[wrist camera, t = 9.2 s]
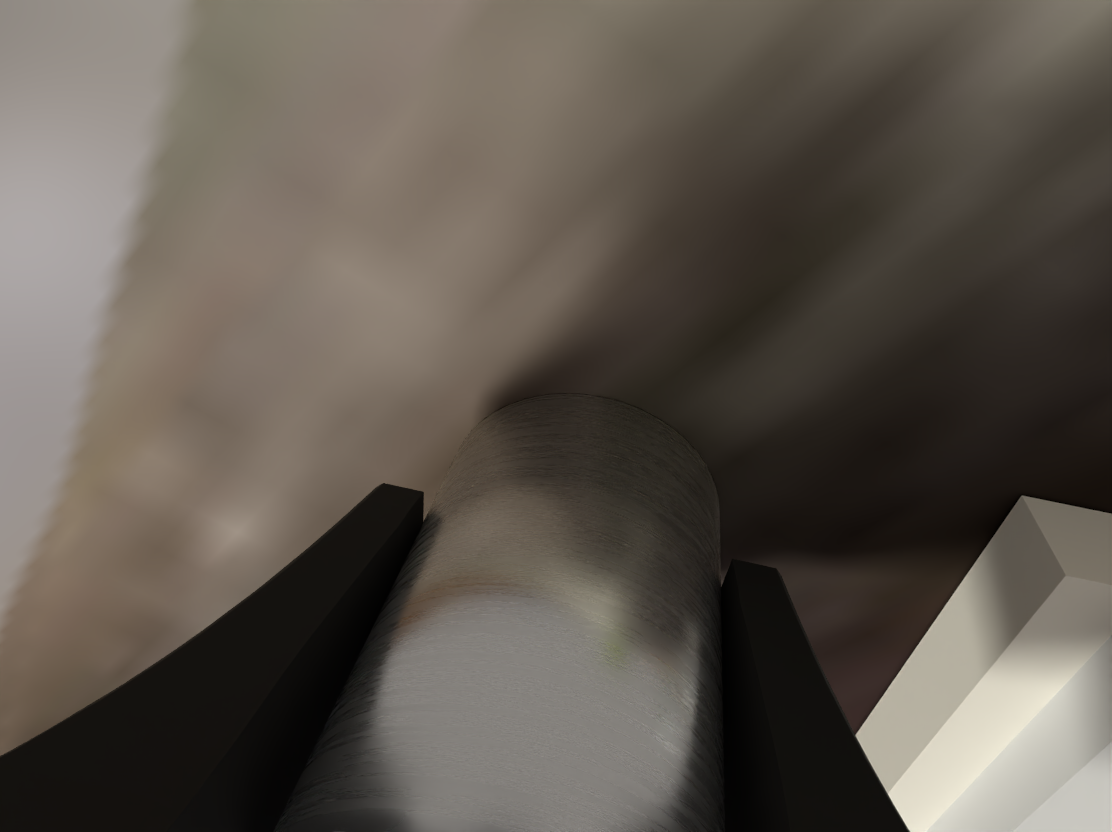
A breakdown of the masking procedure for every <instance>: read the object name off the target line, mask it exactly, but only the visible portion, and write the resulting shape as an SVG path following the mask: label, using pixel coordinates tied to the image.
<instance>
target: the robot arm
mask: <svg viewBox="0 0 1112 832" xmlns="http://www.w3.org/2000/svg"><path fill="white" fill-rule="evenodd" d="M423 501H424V492H422V491H417V490H413V489H408V488H403V487H399V486H394V485H390V484H385V483H383V484H381V485H379V486H378V487H376V488H375V489H374V490H373V491H372V492H371V493H370V494H368V495H367V496H366V497H365V498H364V499H363V500H362V501H361V502H360V503H359V504H357V505H356V506H355V507H354V508H353V509H352V510H351V511H350V512H349V513H348V514H346V515H345V516H344V517H343V518H342V519H341V520H340V521H339V522H337V523H336V524H335V525H334V526H333V527H332V528H331V529H329V530H328V531H327V532H326V533H325V534H324V535H323V536H321V537H320V538H319V539H318V540H317V541H316V542H314V543H313V544H312V545H311V546H310V547H309V548H308V549H306V550H305V551H304V552H303V553H301V554H300V555H299V556H298V557H297V558H295V559H294V560H293V561H292V562H290V563H289V564H288V565H287V566H286V567H284V568H283V569H282V570H281V571H280V572H278V573H277V574H276V575H275V576H273V577H272V578H271V579H270V580H269V581H267V582H266V583H265V584H264V585H262V586H261V587H260V588H259V589H257V590H256V591H255V592H253V593H252V594H251V595H249V596H248V597H247V598H245V599H244V600H243V601H241V602H240V603H239V604H237V605H236V606H235V607H233V608H232V609H231V610H229V611H228V612H227V613H225V614H224V615H223V616H221V617H220V618H219V619H217V620H216V621H215V622H213V623H212V624H211V625H209V626H208V627H207V628H205V629H204V630H203V631H201V632H200V633H198V634H197V635H196V636H194V637H193V638H191V639H190V640H189V641H187V642H186V643H184V644H183V645H181V646H180V647H178V648H177V649H176V650H174V651H173V652H171V653H170V654H168V655H167V656H165V657H164V658H162V659H161V660H159V661H158V662H156V663H155V664H153V665H152V666H150V667H149V668H147V669H146V670H144V671H143V672H141V673H140V674H138V675H136V676H135V677H133V678H132V679H130V680H129V681H127V682H126V683H124V684H123V685H121V686H119V687H118V688H116V689H115V690H113V691H111V692H110V693H108V694H106V695H105V696H103V697H101V698H100V699H98V700H96V701H95V702H93V703H91V704H90V705H88V706H86V707H85V708H83V709H81V710H80V711H78V712H76V713H75V714H73V715H71V716H70V717H68V718H66V719H65V720H63V721H61V722H60V723H58V724H57V725H55V726H53V727H51V728H50V729H48V730H46V731H44V732H43V733H41V734H39V735H37V736H36V737H34V738H32V739H30V740H29V741H27V742H25V743H23V744H22V745H20V746H18V747H16V748H14V749H13V750H11V751H9V752H7V753H5V754H3V755H1V756H0V832H274V830H275V828H276V826H277V824H278V822H279V820H280V817H281V815H282V813H283V811H284V809H285V807H286V805H287V803H288V801H289V799H290V797H291V795H292V793H293V791H294V789H295V787H296V784H297V782H298V780H299V778H300V776H301V774H302V772H303V770H304V768H305V766H306V764H307V762H308V760H309V758H310V756H311V753H312V751H313V749H314V747H315V745H316V743H317V741H318V739H319V737H320V735H321V733H322V731H323V729H324V727H325V725H326V722H327V720H328V718H329V716H330V714H331V712H332V710H333V708H334V706H335V704H336V702H337V700H338V698H339V696H340V694H341V692H342V689H343V687H344V685H345V683H346V681H347V679H348V677H349V675H350V673H351V671H352V669H353V667H354V665H355V663H356V661H357V658H358V656H359V654H360V652H361V650H362V648H363V646H364V644H365V642H366V640H367V638H368V636H369V634H370V632H371V630H372V627H373V625H374V623H375V621H376V619H377V617H378V615H379V613H380V611H381V609H382V607H383V605H384V603H385V601H386V599H387V597H388V594H389V592H390V590H391V588H392V586H393V584H394V582H395V580H396V578H397V576H398V574H399V572H400V570H401V568H402V566H403V563H404V561H405V559H406V557H407V555H408V553H409V551H410V549H411V547H412V545H413V543H414V541H415V539H416V537H417V535H418V532H419V530H420V528H421V526H422V524H423ZM721 624H722V683H723V742H724V801H725V832H910V831H909V829H908V828H907V826H906V824H905V823H904V821H903V819H902V818H901V816H900V814H899V812H898V811H897V809H896V807H895V806H894V804H893V802H892V801H891V799H890V797H889V795H888V793H887V792H886V790H885V788H884V786H883V785H882V783H881V781H880V779H879V778H878V776H877V774H876V772H875V771H874V769H873V767H872V765H871V763H870V762H869V760H868V758H867V756H866V754H865V752H864V751H863V749H862V747H861V745H860V743H859V741H858V739H857V737H856V736H855V734H854V732H853V730H852V728H851V726H850V724H849V722H848V720H847V718H846V716H845V714H844V712H843V710H842V708H841V706H840V704H839V702H838V700H837V698H836V696H835V694H834V692H833V690H832V688H831V686H830V684H829V682H828V680H827V678H826V676H825V674H824V672H823V670H822V668H821V666H820V664H819V661H818V659H817V657H816V655H815V653H814V650H813V648H812V646H811V644H810V642H809V640H808V637H807V635H806V633H805V631H804V628H803V626H802V624H801V622H800V619H799V617H798V615H797V612H796V610H795V608H794V605H793V603H792V601H791V598H790V596H789V593H788V591H787V589H786V586H785V584H784V581H783V579H782V576H781V575H780V573H779V572H778V570H777V569H776V568H772V567H767V566H763V565H758V564H753V563H749V562H744V561H740V560H735V559H732V561H731V564H730V566H729V569H728V571H727V574H726V577H725V579H724V582H723V584H722V587H721Z"/></svg>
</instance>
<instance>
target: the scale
mask: <svg viewBox="0 0 1112 832" xmlns="http://www.w3.org/2000/svg"><path fill="white" fill-rule="evenodd" d="M855 736H856V737H857V739H858V741H859V743H860V745H861V747H862V749H863V751H864V752H865V754H866V756H867V758H868V760H869V762H870V763H871V765H872V767H873V769H874V771H875V772H876V774H877V776H878V778H879V779H880V781H881V783H882V785H883V786H884V788H885V790H886V792H887V793H888V795H889V797H890V799H891V801H892V802H893V804H894V806H895V807H896V809H897V811H898V812H899V814H900V816H901V818H902V819H903V821H904V823H905V824H906V826H907V828H908V829H909V831H910V832H1112V514H1111V513H1106V512H1101V511H1096V510H1091V509H1086V508H1081V507H1076V506H1071V505H1066V504H1061V503H1057V502H1052V501H1047V500H1042V499H1037V498H1032V497H1027V496H1021V497H1020V498H1019V500H1018V501H1017V503H1016V504H1015V506H1014V507H1013V509H1012V510H1011V511H1010V513H1009V514H1008V516H1007V517H1006V519H1005V520H1004V522H1003V523H1002V524H1001V526H1000V527H999V529H998V530H997V532H996V533H995V535H994V536H993V537H992V539H991V540H990V542H989V543H988V545H987V546H986V548H985V549H984V550H983V552H982V553H981V555H980V556H979V558H978V559H977V561H976V562H975V563H974V565H973V566H972V568H971V569H970V571H969V572H968V574H967V575H966V576H965V578H964V579H963V581H962V582H961V584H960V585H959V587H958V588H957V589H956V591H955V592H954V594H953V595H952V597H951V598H950V600H949V601H948V602H947V604H946V605H945V607H944V608H943V610H942V611H941V613H940V614H939V615H938V617H937V618H936V620H935V621H934V623H933V624H932V626H931V627H930V628H929V630H928V631H927V633H926V634H925V636H924V637H923V639H922V640H921V641H920V643H919V644H918V646H917V647H916V649H915V650H914V652H913V653H912V654H911V656H910V657H909V659H908V660H907V662H906V663H905V665H904V666H903V667H902V669H901V670H900V672H899V673H898V675H897V676H896V678H895V679H894V680H893V682H892V683H891V685H890V686H889V688H888V689H887V691H886V692H885V693H884V695H883V696H882V698H881V699H880V701H879V702H878V704H877V705H876V706H875V708H874V709H873V711H872V712H871V714H870V715H869V717H868V718H867V719H866V721H865V722H864V724H863V725H862V727H861V728H860V730H859V731H858V732H857V734H856V735H855Z"/></svg>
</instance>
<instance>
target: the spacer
mask: <svg viewBox="0 0 1112 832" xmlns="http://www.w3.org/2000/svg"><path fill="white" fill-rule="evenodd" d="M274 832H725V801H724V742H723V683H722V624H721V565H720V509H719V499H718V493H717V490H716V486H715V483H714V480H713V478H712V476H711V474H710V471H709V469H708V467H707V466H706V464H705V463H704V461H703V460H702V458H701V457H700V455H699V454H698V452H697V451H696V450H695V449H694V448H693V447H692V446H691V445H690V443H689V442H688V441H687V440H686V439H685V438H683V437H682V436H681V435H680V434H679V433H678V432H676V431H675V430H674V429H673V428H671V427H670V426H668V425H667V424H666V423H664V422H663V421H661V420H660V419H658V418H656V417H654V416H652V415H650V414H649V413H647V412H645V411H643V410H641V409H638V408H636V407H633V406H630V405H628V404H625V403H623V402H619V401H615V400H611V399H607V398H604V397H598V396H591V395H584V394H552V395H543V396H538V397H533V398H528V399H524V400H521V401H518V402H515V403H512V404H509V405H507V406H505V407H503V408H501V409H499V410H497V411H495V412H494V413H492V414H491V415H489V416H488V417H486V418H485V419H484V420H482V421H481V422H480V423H479V424H478V425H477V426H476V427H475V428H474V429H473V430H472V431H471V432H470V433H469V434H468V436H467V437H466V438H465V440H464V441H463V442H462V444H461V446H460V448H459V450H458V452H457V454H456V456H455V458H454V460H453V462H452V464H451V466H450V468H449V471H448V473H447V475H446V477H445V479H444V481H443V483H442V485H441V487H440V489H439V491H438V493H437V495H436V497H435V499H434V502H433V504H432V506H431V508H430V510H429V512H428V514H427V516H426V518H425V520H424V522H423V524H422V526H421V528H420V530H419V532H418V535H417V537H416V539H415V541H414V543H413V545H412V547H411V549H410V551H409V553H408V555H407V557H406V559H405V561H404V563H403V566H402V568H401V570H400V572H399V574H398V576H397V578H396V580H395V582H394V584H393V586H392V588H391V590H390V592H389V594H388V597H387V599H386V601H385V603H384V605H383V607H382V609H381V611H380V613H379V615H378V617H377V619H376V621H375V623H374V625H373V627H372V630H371V632H370V634H369V636H368V638H367V640H366V642H365V644H364V646H363V648H362V650H361V652H360V654H359V656H358V658H357V661H356V663H355V665H354V667H353V669H352V671H351V673H350V675H349V677H348V679H347V681H346V683H345V685H344V687H343V689H342V692H341V694H340V696H339V698H338V700H337V702H336V704H335V706H334V708H333V710H332V712H331V714H330V716H329V718H328V720H327V722H326V725H325V727H324V729H323V731H322V733H321V735H320V737H319V739H318V741H317V743H316V745H315V747H314V749H313V751H312V753H311V756H310V758H309V760H308V762H307V764H306V766H305V768H304V770H303V772H302V774H301V776H300V778H299V780H298V782H297V784H296V787H295V789H294V791H293V793H292V795H291V797H290V799H289V801H288V803H287V805H286V807H285V809H284V811H283V813H282V815H281V817H280V820H279V822H278V824H277V826H276V828H275V830H274Z"/></svg>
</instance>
